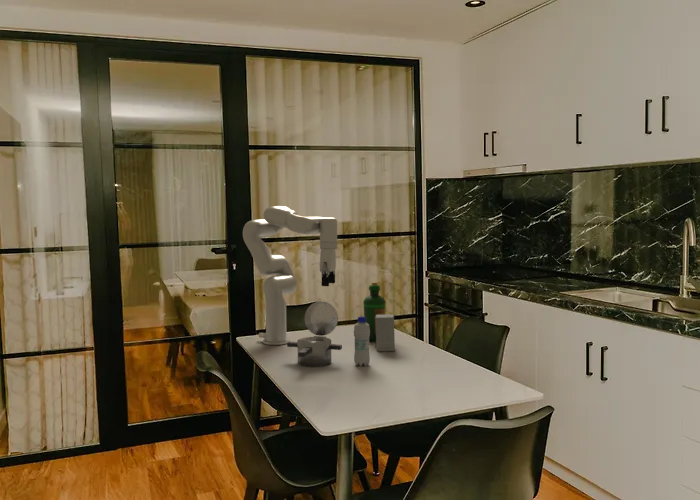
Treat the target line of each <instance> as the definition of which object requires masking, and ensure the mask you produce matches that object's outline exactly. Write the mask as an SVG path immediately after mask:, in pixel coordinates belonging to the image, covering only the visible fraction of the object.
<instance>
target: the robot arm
mask: <svg viewBox="0 0 700 500" xmlns="http://www.w3.org/2000/svg"><path fill="white" fill-rule="evenodd" d="M262 215H263V219H252V220H249V221H247V222H246V223H245V224H244V226H243V228H242V239H243V242H244V243H245V245H246V247H247V249H248V250H249V252H250V254H251V257H252V258H253V261H254V263H255V265H256V268H257V270H258V272H259V273H260V275H262V276H266V277H267V276H268V278H266V279H265V280H264V282H263V284H262V285H263V286H262V287H263V288H262V289H263V293H264V298H265V323H266V324H265V330H266V332H259V333H258V337H259V338H261V339H262V338H263V341H262V343H263V344H264V345H268V346H279V345H281V346H282V345H287V343H288V342H291V339H290V338H288V337H287V304H286V301H285V298H284V296H285V295H291V294H293V293H296V291H297V288H298V281H297V277H296V276H295V274H294V271H293V269H292V267H291V265H290V262H289V261H288V259H287V258H286V257H285V256H284V255H282V254H272V253H271V251H270V248H269V247H268V245H267V244H266V242H265V241H263V239H261V238H269V237H273V236H276V235H277V234H278V233H279V232H281V231H282V230H283V229H284V228H285V229H288V230H289V231H291V232H293V233H297V234H302V235H311V234H312V235H314V234H319V249H320V253H319V254H320V256H319V272H321V275H320V276H321V286H322V287H329V286H330V284H335V283H336V271H335V270H336V268H337V265H336V262H337V260H336V259H337V258H336V257H337V256H336V250H338V220H337V218H335V217H323V216H301V215H298V212H296V211H295V210H293V209H290V208H289V207H288V206H284V205H282V206H281V205H276V206H275V205H274V206H269V207H267V208H266V209H264V211H263V214H262ZM269 276H270V277H269Z"/></svg>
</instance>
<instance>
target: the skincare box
mask: <svg viewBox="0 0 700 500" xmlns="http://www.w3.org/2000/svg"><path fill="white" fill-rule="evenodd" d="M375 320H376V342H375V346H376V349H375V350H376V352H395V346H396V345H395V344H396V343H395V341H396V340H395V339H396V338H395V316H394V314H385V315H376V317H375Z"/></svg>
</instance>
